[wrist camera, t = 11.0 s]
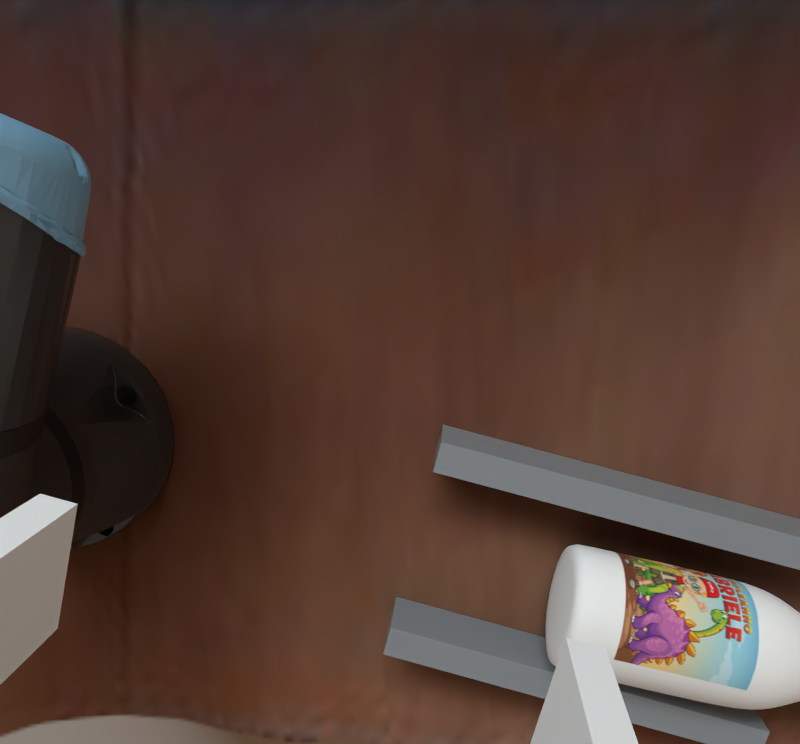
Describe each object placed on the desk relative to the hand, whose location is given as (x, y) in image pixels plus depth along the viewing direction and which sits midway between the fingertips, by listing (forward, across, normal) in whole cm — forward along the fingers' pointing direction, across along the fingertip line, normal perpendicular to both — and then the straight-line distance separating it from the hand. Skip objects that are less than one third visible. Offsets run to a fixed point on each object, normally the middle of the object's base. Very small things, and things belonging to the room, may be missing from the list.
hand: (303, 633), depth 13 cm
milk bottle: (+30, +13, -13) cm, 35 cm away
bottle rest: (+34, +16, -12) cm, 39 cm away
